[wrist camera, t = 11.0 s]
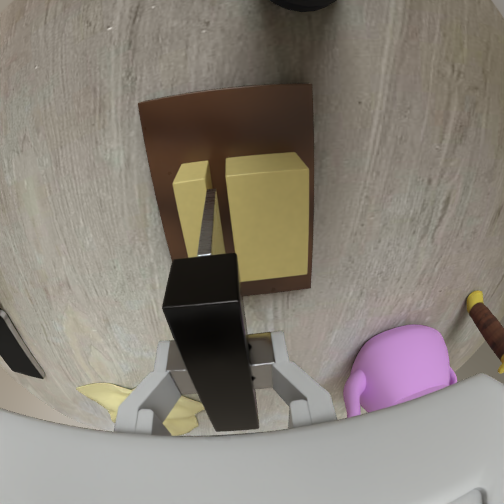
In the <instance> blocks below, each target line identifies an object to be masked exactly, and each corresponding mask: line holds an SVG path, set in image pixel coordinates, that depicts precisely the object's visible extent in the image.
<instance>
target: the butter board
mask: <svg viewBox="0 0 504 504" xmlns="http://www.w3.org/2000/svg"><path fill="white" fill-rule="evenodd" d="M138 108H139V114H140V120H141V126H142V131H143V137H144V142H145V147H146V152H147V157H148V162H149V167H150V172H151V177H152V181H153V186H154V190H155V195H156V199H157V204H158V208H159V212H160V216H161V220H162V224H163V228H164V232H165V236H166V240H167V244H168V248H169V251H170V255H171V259H172V261H173V260H174V259H179V258H188V254H187V249H186V245H185V241H184V236H183V232H182V227H181V223H180V218H179V214H178V209H177V204H176V199H175V194H174V189H173V181H174V179H175V177H176V175H177V173H178V171H179V168H180V166H181V164H185V163H192V162H199V161H207V160H208V161H209V166H210V174H211V181H212V188H213V189H216V191H217V198H218V205H219V213H220V220H221V227H222V233H223V240H224V247H225V254H226V253H235V248H234V241H233V233H232V225H231V217H230V209H229V202H228V194H227V185H226V177H225V174H226V158H232V157H241V156H251V155H262V154H274V153H289V152H295V153H296V154H297V155H298V156H299V157H300V159H301V160H302V161H303V162H304V163H305V165H306V166H307V167H308V168H309V237H308V268H307V274H305V275H297V276H289V277H280V278H271V279H263V280H254V281H244V282H241V288H242V296H250V295H259V294H268V293H276V292H284V291H293V290H300V289H308V288H311V272H312V250H313V219H314V122H313V93H312V84H309V83H286V84H264V85H249V86H238V87H228V88H219V89H211V90H203V91H196V92H190V93H184V94H178V95H172V96H167V97H162V98H157V99H152V100H147V101H143V102H140V103H138Z"/></svg>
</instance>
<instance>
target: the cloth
mask: <svg viewBox="0 0 504 504" xmlns="http://www.w3.org/2000/svg"><path fill="white" fill-rule="evenodd" d="M134 389H135V388H134ZM134 389H132V390H130V389H126V388H123V387H120V386H117V385H114V384H109V383H94V384H89V385H85V386H81V387H78V388H76V390H78V391H79V392H81V393H82V394H83V395H85V396H87V397H88V398H90V399H91V400H94V401H96V402H97V403H98V404H100V405H101V406H103V407H104V408H106V409H107V410H109V411H108V412H109V413H110V416H111V420H112V421H113V422H114V423H115V422H116V417H117V411H118V407H119V406H120V404H121V403H122V402H123V401H124V400H125V399H126V398H127V397H128V396H129V395H130V393H131V392H132V391H133V390H134ZM204 409H205V408H204V406H203V404H202V403H201V402H197V401H194V400H191V399H189V398H186V397H184V396H181V397H180V398H179V400H178V401H177V403H176V404H175V406H174V407H173V409H172V410H171V412H170V413H169V415H168V416H167V417H166V419H165V420H164V422H163V425H164V426H165V427H166V428H167V430H168V431H169V432H170V433H171V436H178V435H183V434H186V433H188V432H190V431H191V430H193V429H194V428H196V427H198V422H197V418H196V417H195V414H197V413H198V412H200V411H202V410H204Z"/></svg>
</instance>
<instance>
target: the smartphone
mask: <svg viewBox="0 0 504 504" xmlns="http://www.w3.org/2000/svg"><path fill="white" fill-rule="evenodd" d="M0 355H1V357H2V358H3V359H4V361H5V362H6V363H7V365H8V366H9V367H10V368H11V370H12V371H14V372H17V373H21V374H25V375H28V376H32V377H36V378H41V379H44V376H45V373H44V371H43V370H42V369H41V367H40V366H39V364H38V363H37V362H36V360H35V359H34V357H33V356H32V354H31V353H30V351H29V350H28V348H27V347H26V345H25V344H24V342H23V341H22V339H21V337H20V336H19V334H18V333H17V331H16V329H15V328H14V326H13V324H12V323H11V321H10V319H9V317H8V316H7V314H6V313H5V312H4V311H3V310H0Z"/></svg>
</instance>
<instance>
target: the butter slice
mask: <svg viewBox="0 0 504 504" xmlns="http://www.w3.org/2000/svg"><path fill="white" fill-rule="evenodd" d="M173 189H174V194H175V199H176V204H177V209H178V214H179V218H180V223H181V227H182V232H183V236H184V241H185V245H186V249H187V254H188V258H189V257H197V253H198V245H199V238H200V231H201V224H202V217H203V210H204V204H205V197H206V191H207V189H213V188H212V181H211V174H210V166H209V161H208V160H207V161H199V162H192V163H185V164H181V166H180V168H179V171H178V173H177V175H176V177H175V179H174V181H173Z"/></svg>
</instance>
